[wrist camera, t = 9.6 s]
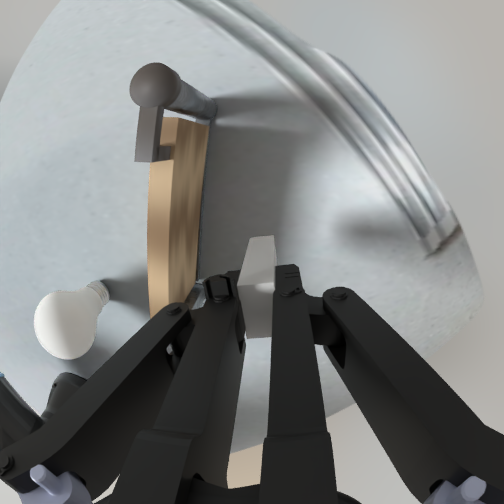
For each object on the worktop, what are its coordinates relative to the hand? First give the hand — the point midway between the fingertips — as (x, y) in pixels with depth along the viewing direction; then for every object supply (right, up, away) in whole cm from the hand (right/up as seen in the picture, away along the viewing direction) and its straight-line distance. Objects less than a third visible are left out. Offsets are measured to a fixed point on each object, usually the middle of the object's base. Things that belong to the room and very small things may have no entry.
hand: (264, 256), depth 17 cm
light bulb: (-18, -4, +11) cm, 21 cm away
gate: (-6, +5, +5) cm, 9 cm away
